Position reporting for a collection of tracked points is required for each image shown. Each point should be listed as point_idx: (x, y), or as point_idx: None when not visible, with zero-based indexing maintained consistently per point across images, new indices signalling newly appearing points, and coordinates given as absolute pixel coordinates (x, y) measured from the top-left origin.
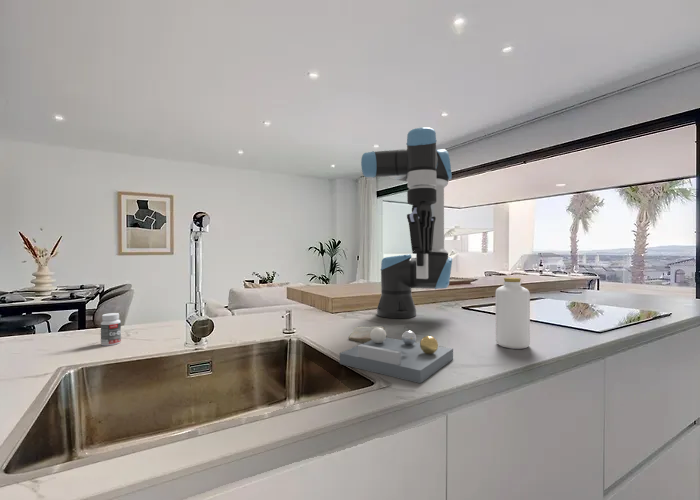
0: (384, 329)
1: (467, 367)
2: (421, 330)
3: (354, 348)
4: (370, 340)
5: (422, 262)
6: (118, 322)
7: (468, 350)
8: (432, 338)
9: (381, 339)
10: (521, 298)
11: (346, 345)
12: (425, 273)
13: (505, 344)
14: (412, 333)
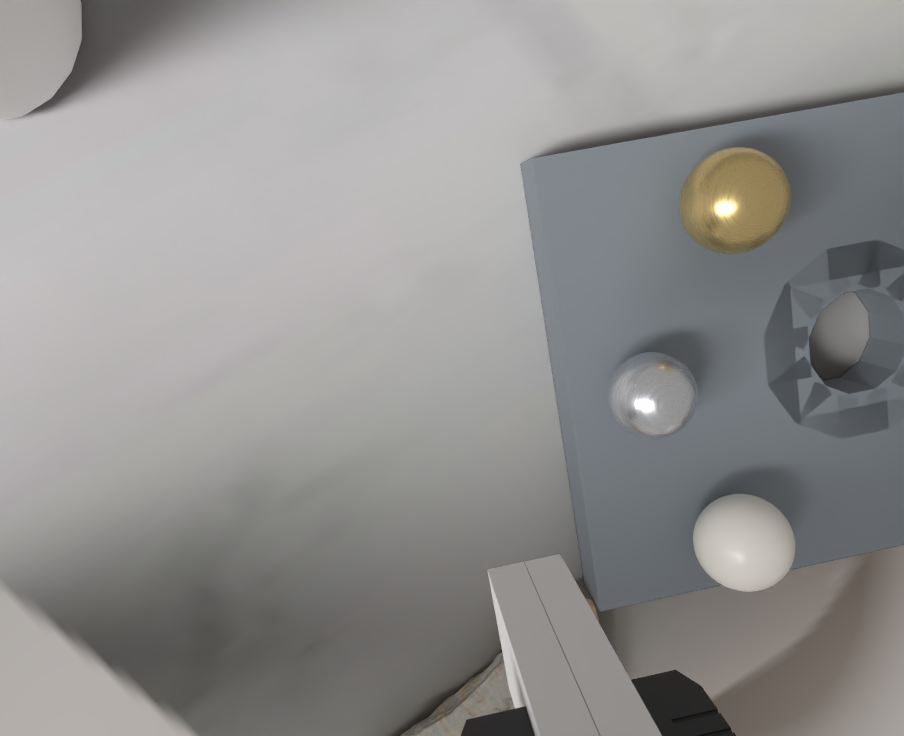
0: (412, 733)
1: (589, 36)
2: (114, 651)
3: (874, 537)
4: None
5: (683, 710)
6: None
7: (307, 182)
8: (764, 169)
9: (756, 496)
10: None
11: None
12: (579, 593)
13: (80, 15)
14: (671, 372)
